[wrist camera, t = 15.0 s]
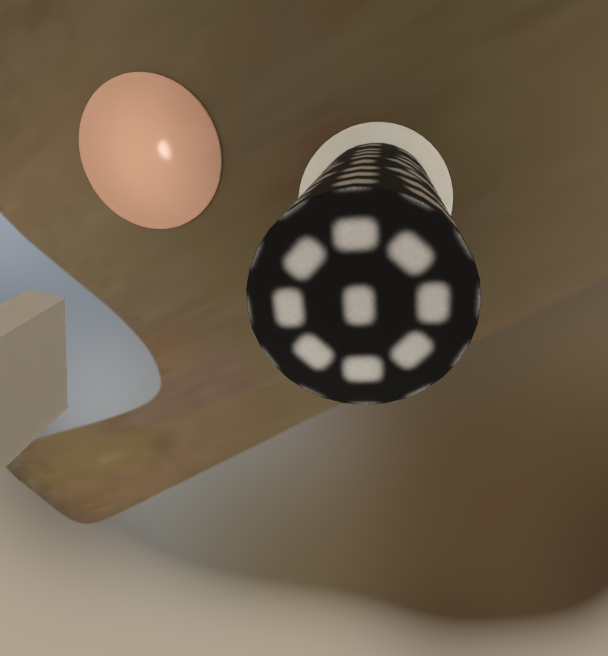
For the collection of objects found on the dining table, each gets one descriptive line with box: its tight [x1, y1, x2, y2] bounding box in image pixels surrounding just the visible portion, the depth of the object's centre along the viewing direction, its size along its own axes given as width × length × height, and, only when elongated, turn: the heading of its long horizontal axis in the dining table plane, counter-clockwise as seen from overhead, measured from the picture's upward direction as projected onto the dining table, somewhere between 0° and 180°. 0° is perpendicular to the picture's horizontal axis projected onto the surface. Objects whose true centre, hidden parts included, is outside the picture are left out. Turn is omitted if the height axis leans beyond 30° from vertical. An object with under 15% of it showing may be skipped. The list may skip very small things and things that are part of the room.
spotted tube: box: [246, 143, 481, 405], centre depth 27 cm, size 8×8×20 cm
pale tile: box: [299, 122, 453, 216], centre depth 36 cm, size 11×11×1 cm
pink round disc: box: [79, 72, 222, 229], centre depth 37 cm, size 11×11×1 cm
